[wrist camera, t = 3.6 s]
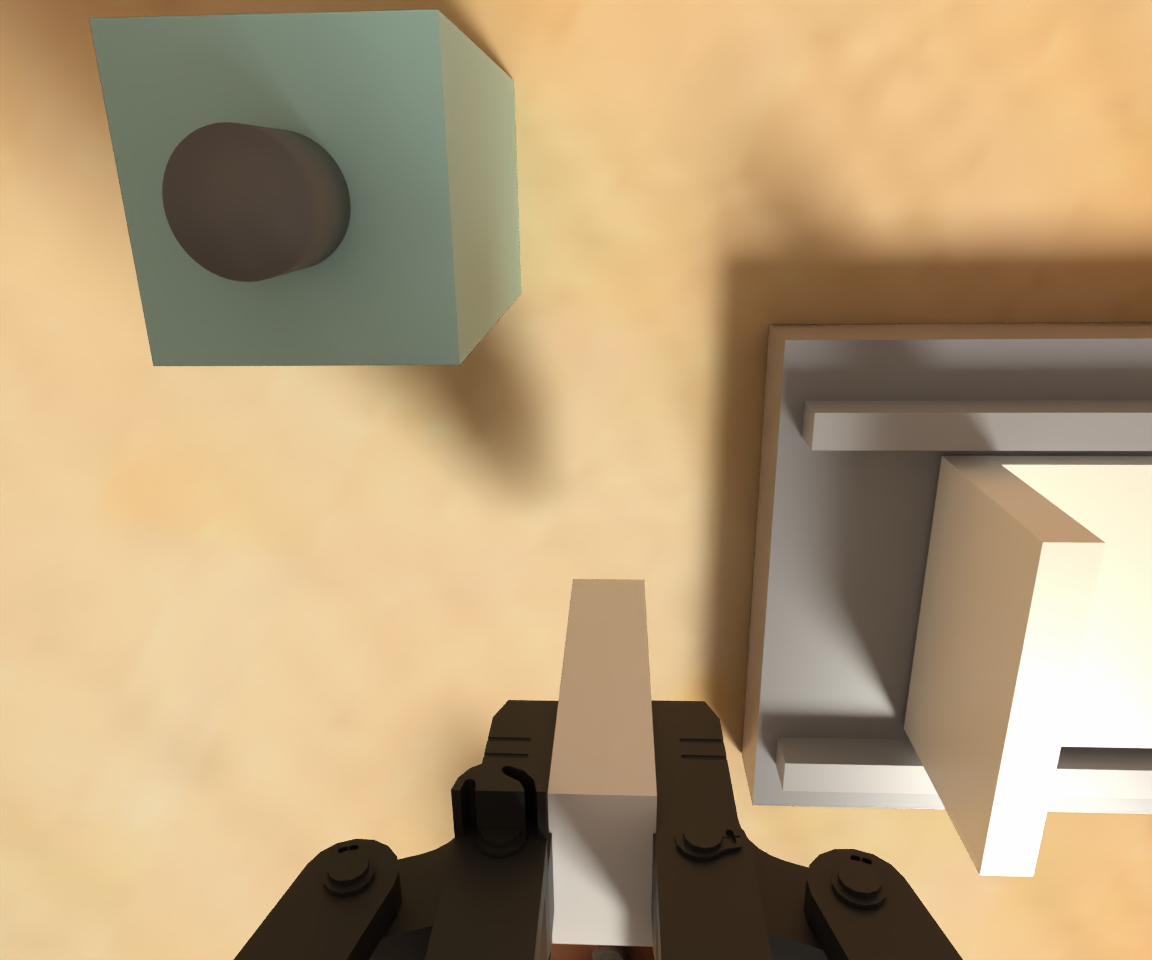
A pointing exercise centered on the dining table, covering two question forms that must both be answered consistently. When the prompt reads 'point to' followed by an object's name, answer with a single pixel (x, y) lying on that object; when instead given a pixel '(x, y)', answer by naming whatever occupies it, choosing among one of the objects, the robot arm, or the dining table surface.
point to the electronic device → (600, 952)
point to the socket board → (904, 534)
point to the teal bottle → (313, 185)
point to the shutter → (1030, 637)
